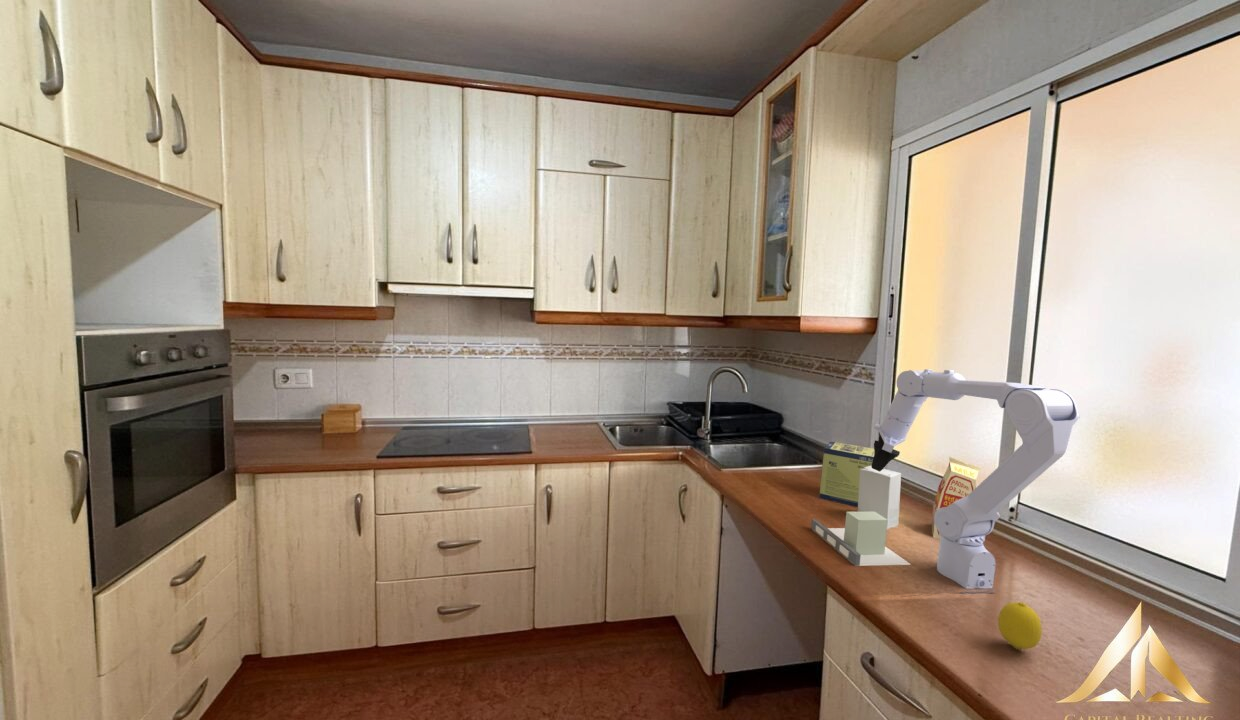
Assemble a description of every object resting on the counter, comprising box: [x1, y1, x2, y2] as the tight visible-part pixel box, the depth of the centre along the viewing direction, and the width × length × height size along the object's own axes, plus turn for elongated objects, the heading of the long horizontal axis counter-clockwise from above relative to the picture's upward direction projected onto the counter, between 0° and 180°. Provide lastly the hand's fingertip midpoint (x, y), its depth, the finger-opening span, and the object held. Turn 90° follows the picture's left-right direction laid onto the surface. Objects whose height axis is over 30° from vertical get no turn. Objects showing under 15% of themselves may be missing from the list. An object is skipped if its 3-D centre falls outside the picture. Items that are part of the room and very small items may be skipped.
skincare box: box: [857, 466, 902, 530], centre depth 128 cm, size 8×6×15 cm
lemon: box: [997, 601, 1043, 650], centre depth 81 cm, size 6×6×8 cm
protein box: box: [818, 441, 874, 508], centre depth 146 cm, size 10×16×16 cm
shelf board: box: [810, 518, 912, 567], centre depth 114 cm, size 18×13×4 cm
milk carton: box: [931, 456, 984, 540], centre depth 124 cm, size 9×9×20 cm
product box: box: [844, 511, 888, 555], centre depth 111 cm, size 5×7×8 cm
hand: (877, 462), depth 123 cm, fingers open, 7 cm apart
